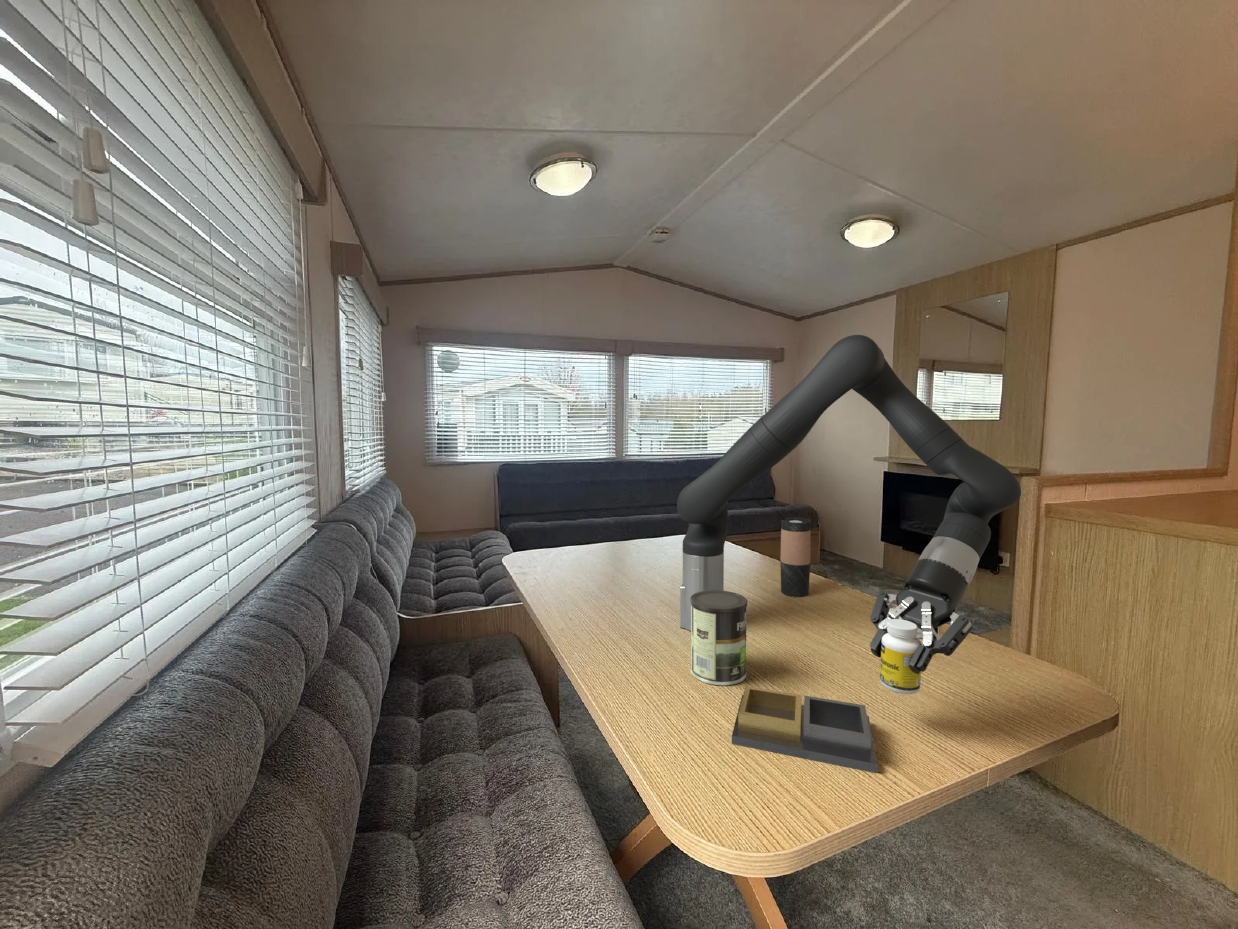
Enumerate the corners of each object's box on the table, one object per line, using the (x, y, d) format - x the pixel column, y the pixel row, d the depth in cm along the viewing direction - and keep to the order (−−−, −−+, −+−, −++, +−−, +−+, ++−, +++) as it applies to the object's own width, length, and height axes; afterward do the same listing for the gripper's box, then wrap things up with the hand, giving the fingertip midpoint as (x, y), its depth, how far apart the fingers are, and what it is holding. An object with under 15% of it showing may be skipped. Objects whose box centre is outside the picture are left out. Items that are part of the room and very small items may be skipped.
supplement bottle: (872, 678, 81) (874, 617, 80) (905, 676, 82) (908, 616, 81) (893, 696, 76) (896, 631, 75) (928, 694, 76) (931, 630, 76)
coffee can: (749, 664, 100) (750, 592, 98) (742, 690, 90) (743, 611, 89) (696, 656, 103) (696, 587, 102) (684, 680, 94) (684, 604, 92)
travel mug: (813, 597, 137) (815, 522, 136) (784, 597, 137) (786, 522, 136) (804, 588, 145) (805, 517, 143) (776, 588, 145) (777, 517, 143)
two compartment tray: (731, 743, 75) (731, 719, 75) (742, 701, 86) (742, 680, 86) (877, 773, 68) (878, 746, 68) (868, 723, 80) (868, 700, 79)
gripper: (890, 548, 87) (840, 631, 82) (985, 569, 75) (933, 669, 70) (907, 574, 90) (860, 656, 85) (1001, 599, 78) (952, 697, 73)
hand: (893, 661), depth 78 cm, fingers closed on supplement bottle, 5 cm apart
